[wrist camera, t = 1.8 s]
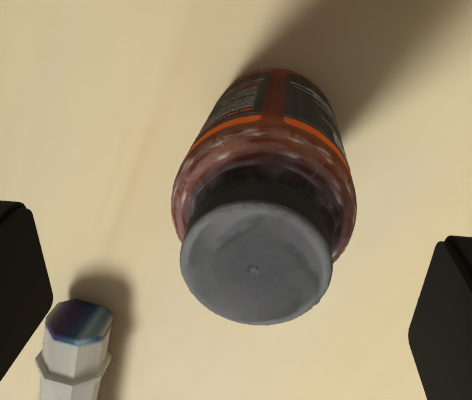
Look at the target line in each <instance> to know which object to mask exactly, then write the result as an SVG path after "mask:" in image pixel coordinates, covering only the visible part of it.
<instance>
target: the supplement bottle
mask: <svg viewBox="0 0 472 400" xmlns="http://www.w3.org/2000/svg"><path fill="white" fill-rule="evenodd" d="M171 213H172V220H173V224H174V227H175V230H176V233H177V235H178V238H179V239H180V241H181V243H182V246H181V252H180V267H181V273H182V276H183V278H184V281H185V282H186V284H187V286H188V288H189V290H190V292H191V293H192V294H193V295H194V296H195V297H196V299H197V300H198V301H199V302H200V303H202V304H203V305H204V306H205V307H207V308H208V309H209V310H210V311H212V312H214V313H215V314H217V315H220V316H222V317H224V318H226V319H229V320H232V321H235V322H238V323H243V324H249V325H273V324H279V323H283V322H287V321H291V320H293V319H295V318H297V317H299V316H301V315H303V314H304V313H305V312H307V311H308V310H310V309H311V308H312V307H313V306H314V305H316V304H318V303H319V301H320V299H321V298H322V296H323V295H324V294H325V292H326V290H327V289H328V287H329V284H330V280H331V276H332V271H333V263H334V262H335V261H336V260H337V259H338V258H339V257H340V255H341V254H342V253H343V252H344V251H345V248H346V247H347V245H348V243H349V241H350V238H351V235H352V233H353V230H354V226H355V221H356V214H357V203H356V194H355V188H354V184H353V180H352V176H351V172H350V168H349V165H348V162H347V158H346V154H345V151H344V148H343V145H342V141H341V138H340V134H339V131H338V127H337V124H336V121H335V117H334V114H333V111H332V108H331V106H330V104H329V103H328V101H327V99H326V97H325V96H324V94H323V93H322V92H321V91H320V90H319V89H318V87H317V86H316V85H314V84H313V83H312V82H311V81H310V80H308V79H307V78H305V77H303V76H301V75H299V74H296V73H294V72H290V71H286V70H281V69H264V70H259V71H256V72H253V73H250V74H248V75H245V76H243V77H242V78H240V79H238V80H237V81H236V82H234V83H233V84H232V85H231V86H230V87H229V88H228V89H227V90H226V91H225V92H224V93H223V95H222V96H221V97H220V98H219V100H218V101H217V103H216V105H215V106H214V108H213V110H212V112H211V114H210V115H209V117H208V119H207V121H206V122H205V124H204V126H203V127H202V129H201V131H200V133H199V135H198V136H197V138H196V140H195V141H194V143H193V145H192V146H191V148H190V150H189V152H188V153H187V155H186V157H185V159H184V160H183V162H182V164H181V166H180V169H179V171H178V173H177V176H176V179H175V181H174V185H173V192H172V197H171Z"/></svg>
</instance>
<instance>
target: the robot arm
mask: <svg viewBox="0 0 472 400" xmlns="http://www.w3.org/2000/svg"><path fill="white" fill-rule="evenodd" d="M52 302H53V293H52V289H51V285H50V281H49V277H48V273H47V269H46V265H45V261H44V257H43V253H42V249H41V245H40V241H39V237H38V233H37V229H36V225H35V222H34V218H33V214H32V212H31V211H30V210H29V209H26V206H25V205H24V204H23V203H21V202H12V201H0V381H1V380H2V378H3V377H4V375H5V374H6V372H7V371H8V370H9V368H10V367H11V365H12V364H13V362H14V361H15V359H16V358H17V356H18V355H19V354H20V352H21V351H22V349H23V348H24V346H25V345H26V343H27V342H28V340H29V339H30V338H31V336H32V335H33V333H34V332H35V330H36V329H37V327H38V326H39V325H40V323H41V322H42V320H43V319H44V317H45V316H46V314H47V313H48V311H49V310H50V308H51V306H52ZM408 339H409V345H410V348H411V351H412V354H413V357H414V360H415V363H416V366H417V369H418V373H419V376H420V379H421V382H422V385H423V388H424V391H425V394H426V397H427V400H472V237H463V236H448V237H447V238H446V239H445V241H444V242H443V241H440V242H438V243H437V244H436V247H435V250H434V253H433V256H432V259H431V262H430V265H429V268H428V271H427V274H426V278H425V281H424V284H423V287H422V290H421V293H420V296H419V299H418V302H417V306H416V309H415V312H414V315H413V318H412V321H411V324H410V327H409V333H408Z"/></svg>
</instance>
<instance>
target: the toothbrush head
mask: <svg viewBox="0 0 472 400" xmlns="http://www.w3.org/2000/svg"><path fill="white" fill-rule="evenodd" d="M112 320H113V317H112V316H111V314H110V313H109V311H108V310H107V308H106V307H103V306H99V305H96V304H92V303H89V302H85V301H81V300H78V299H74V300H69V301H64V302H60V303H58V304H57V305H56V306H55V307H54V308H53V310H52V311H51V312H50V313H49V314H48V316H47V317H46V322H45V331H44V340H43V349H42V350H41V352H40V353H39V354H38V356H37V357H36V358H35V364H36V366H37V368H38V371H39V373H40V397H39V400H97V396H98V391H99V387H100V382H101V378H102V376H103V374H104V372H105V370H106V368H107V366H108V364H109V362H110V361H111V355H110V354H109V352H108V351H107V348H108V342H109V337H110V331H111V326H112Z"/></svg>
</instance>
